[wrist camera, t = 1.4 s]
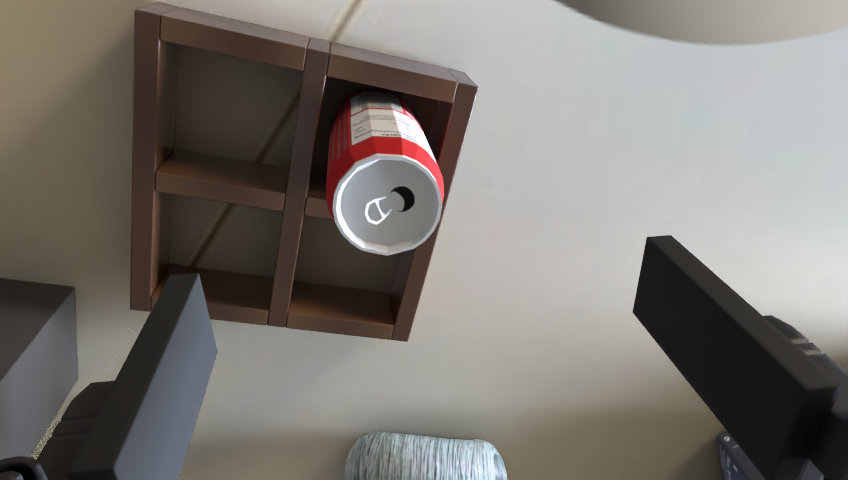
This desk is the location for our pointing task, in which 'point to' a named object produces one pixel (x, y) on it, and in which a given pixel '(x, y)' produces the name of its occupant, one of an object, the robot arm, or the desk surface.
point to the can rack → (272, 172)
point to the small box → (747, 462)
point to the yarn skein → (422, 458)
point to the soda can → (382, 174)
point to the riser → (34, 360)
